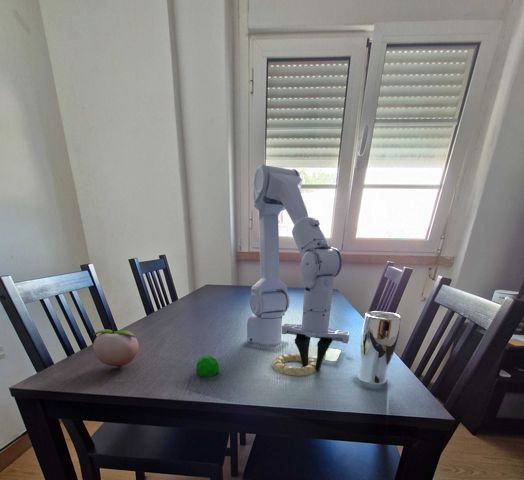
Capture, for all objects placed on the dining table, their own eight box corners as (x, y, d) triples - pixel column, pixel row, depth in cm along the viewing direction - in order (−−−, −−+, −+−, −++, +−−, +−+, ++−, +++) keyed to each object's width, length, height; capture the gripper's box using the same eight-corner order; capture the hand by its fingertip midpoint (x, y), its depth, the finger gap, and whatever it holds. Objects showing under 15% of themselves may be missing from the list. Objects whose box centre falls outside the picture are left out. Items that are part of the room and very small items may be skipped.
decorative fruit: (90, 377, 61) (80, 332, 57) (104, 362, 68) (96, 322, 65) (136, 374, 62) (129, 331, 59) (144, 360, 70) (139, 321, 66)
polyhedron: (205, 370, 65) (204, 351, 63) (223, 374, 63) (223, 355, 61) (191, 379, 61) (190, 358, 59) (210, 384, 59) (209, 363, 57)
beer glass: (385, 394, 56) (399, 321, 51) (350, 384, 60) (360, 315, 54) (390, 380, 62) (404, 314, 56) (358, 373, 65) (368, 309, 60)
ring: (265, 374, 64) (265, 364, 63) (281, 358, 72) (281, 349, 72) (310, 383, 60) (311, 373, 59) (321, 365, 69) (322, 356, 68)
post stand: (300, 359, 72) (301, 336, 70) (309, 348, 80) (311, 327, 77) (335, 366, 69) (338, 342, 66) (341, 354, 76) (344, 332, 74)
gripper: (277, 308, 59) (275, 368, 63) (349, 317, 53) (340, 381, 58) (288, 302, 65) (285, 357, 69) (354, 309, 59) (345, 368, 64)
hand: (311, 367), depth 64 cm, fingers closed on ring, 2 cm apart
